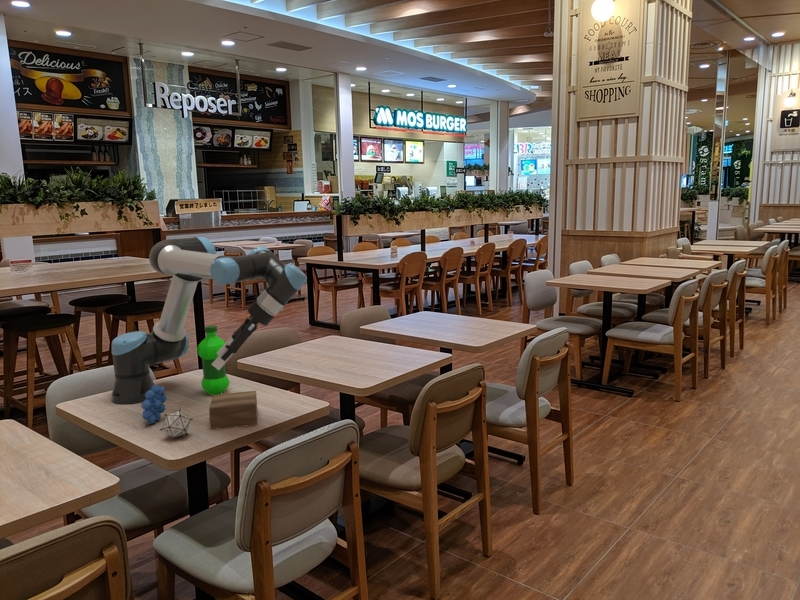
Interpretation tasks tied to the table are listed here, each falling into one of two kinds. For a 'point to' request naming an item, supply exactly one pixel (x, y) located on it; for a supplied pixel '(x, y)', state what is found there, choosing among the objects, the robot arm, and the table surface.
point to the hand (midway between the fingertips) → (217, 361)
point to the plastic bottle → (207, 350)
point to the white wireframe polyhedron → (176, 424)
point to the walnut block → (233, 409)
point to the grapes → (154, 404)
